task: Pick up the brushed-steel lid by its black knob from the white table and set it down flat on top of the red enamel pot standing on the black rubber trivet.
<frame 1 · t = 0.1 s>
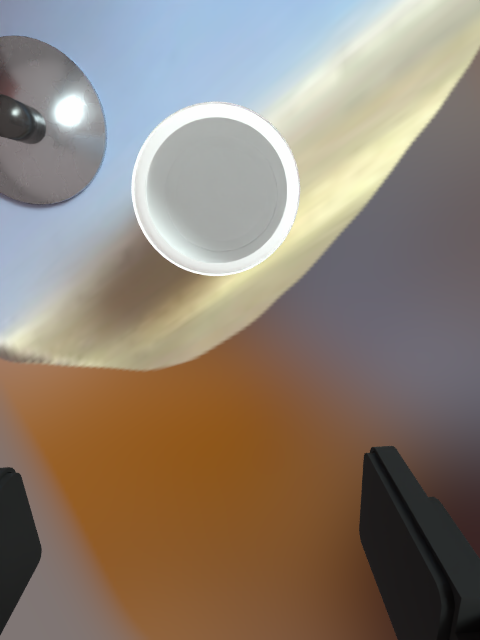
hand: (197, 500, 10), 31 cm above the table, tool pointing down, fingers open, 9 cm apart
lid: (33, 127, 35), on the table
jar: (222, 196, 37), on the table
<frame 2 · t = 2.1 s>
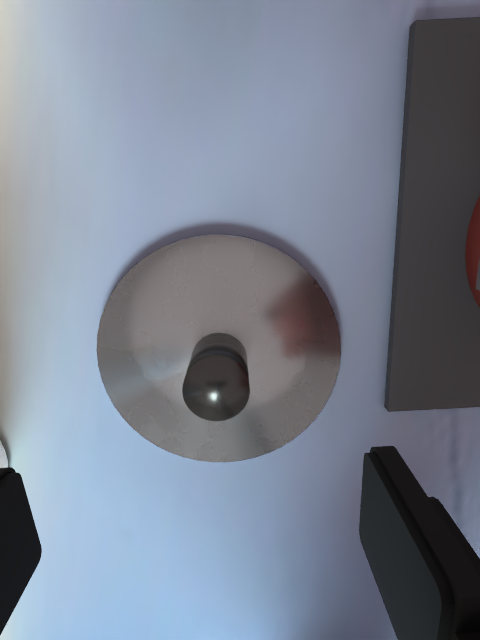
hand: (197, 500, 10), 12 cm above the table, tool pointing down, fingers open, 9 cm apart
lid: (220, 352, 22), on the table
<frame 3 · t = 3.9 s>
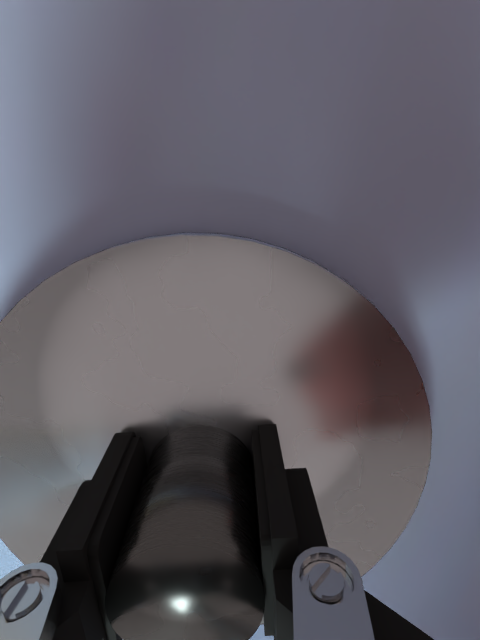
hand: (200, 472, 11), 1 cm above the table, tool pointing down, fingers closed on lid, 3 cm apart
lid: (203, 449, 12), on the table, touching gripper
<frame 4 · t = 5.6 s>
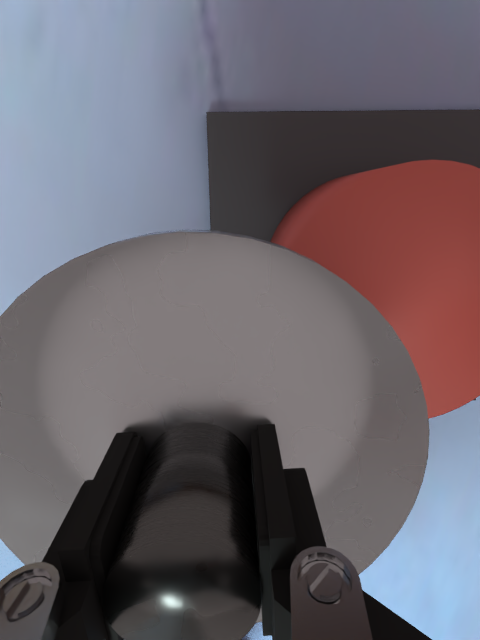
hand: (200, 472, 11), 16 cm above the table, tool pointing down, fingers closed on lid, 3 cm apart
lid: (201, 447, 12), point 15 cm above the table, touching gripper
trivet: (355, 272, 26), on the table
pot: (358, 274, 25), resting on trivet
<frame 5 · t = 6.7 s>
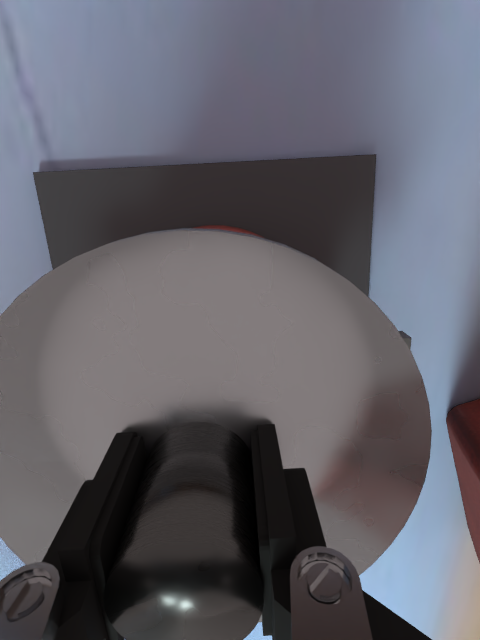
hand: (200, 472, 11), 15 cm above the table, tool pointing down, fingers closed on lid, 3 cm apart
lid: (202, 446, 12), point 14 cm above the table, touching gripper
trivet: (217, 323, 25), on the table
pot: (216, 326, 25), resting on trivet
when the fingers open (11 cm above the table, at t = 7.6 s): lid stays where it is, resting on pot.
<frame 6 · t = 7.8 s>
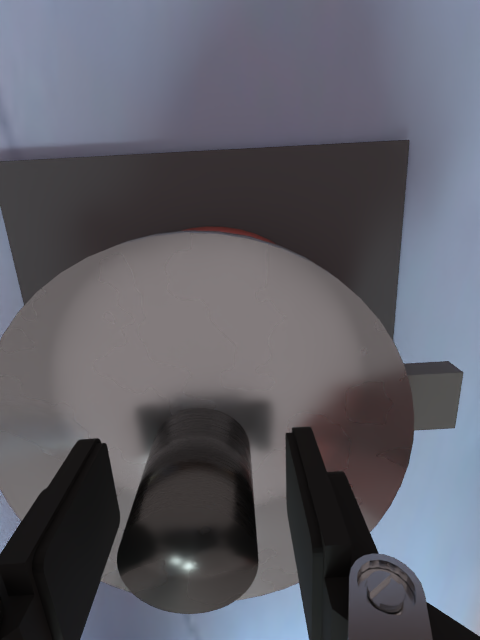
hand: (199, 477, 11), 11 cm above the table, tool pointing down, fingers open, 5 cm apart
lid: (203, 432, 13), point 9 cm above the table, touching pot
trivet: (215, 341, 21), on the table
pot: (215, 345, 21), resting on trivet
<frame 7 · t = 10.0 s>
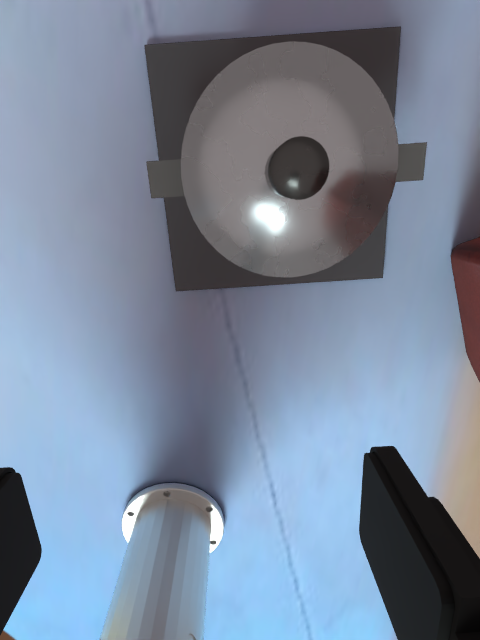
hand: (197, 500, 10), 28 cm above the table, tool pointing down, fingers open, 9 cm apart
lid: (287, 171, 25), point 9 cm above the table, touching pot
trivet: (275, 173, 33), on the table
pot: (275, 173, 32), resting on trivet
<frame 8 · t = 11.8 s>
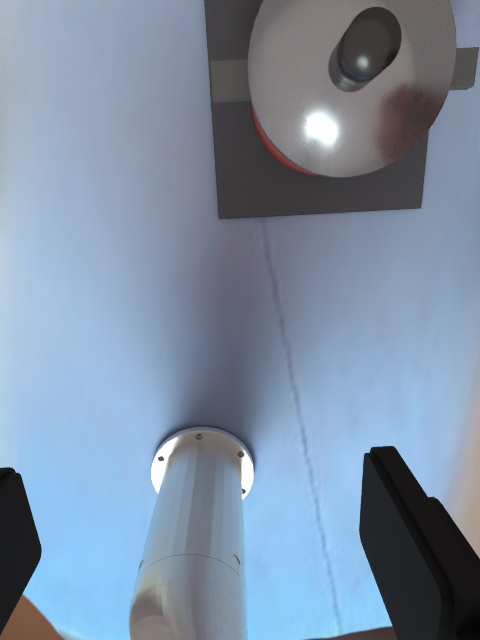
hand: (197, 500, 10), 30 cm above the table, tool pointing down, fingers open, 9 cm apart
lid: (347, 70, 26), point 9 cm above the table, touching pot
trivet: (320, 100, 34), on the table
pot: (321, 98, 33), resting on trivet
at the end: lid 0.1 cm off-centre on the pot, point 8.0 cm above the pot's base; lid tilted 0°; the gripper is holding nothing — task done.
